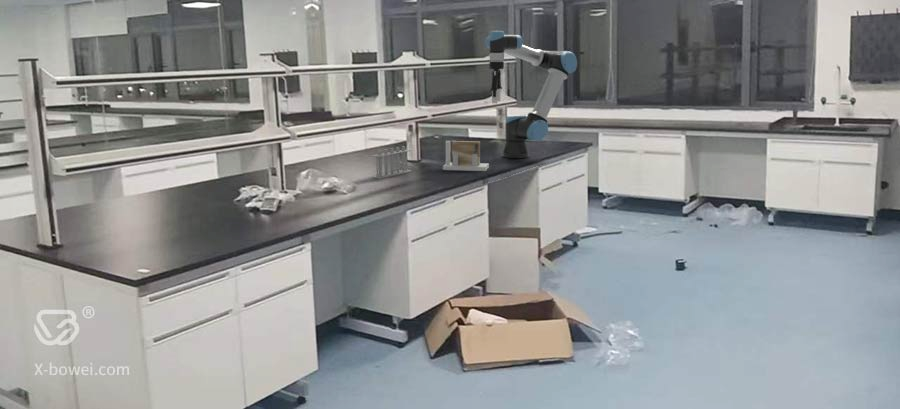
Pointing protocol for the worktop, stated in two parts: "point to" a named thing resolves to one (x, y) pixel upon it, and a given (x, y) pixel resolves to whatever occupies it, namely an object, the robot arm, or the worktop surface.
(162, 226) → the worktop surface
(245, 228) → the worktop surface
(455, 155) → the white holder stand
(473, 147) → the oak door
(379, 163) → the test tube rack
